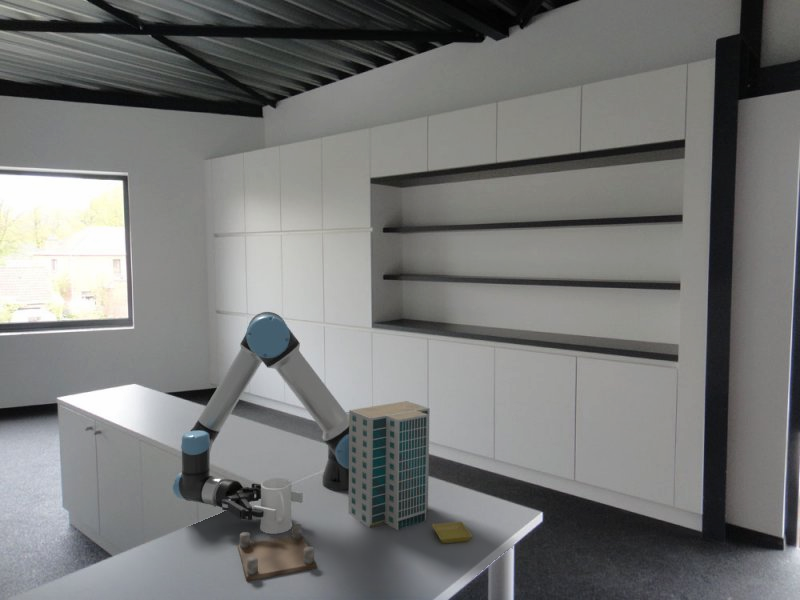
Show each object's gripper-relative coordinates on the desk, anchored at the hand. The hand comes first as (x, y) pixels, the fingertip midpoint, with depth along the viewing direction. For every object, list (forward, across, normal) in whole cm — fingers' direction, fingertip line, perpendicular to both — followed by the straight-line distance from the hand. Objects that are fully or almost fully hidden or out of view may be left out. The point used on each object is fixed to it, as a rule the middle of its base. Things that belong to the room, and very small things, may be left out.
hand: (289, 506), depth 152 cm
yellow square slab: (+40, -16, -8) cm, 44 cm away
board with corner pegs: (+5, +13, -7) cm, 15 cm away
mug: (-4, 0, -7) cm, 8 cm away
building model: (+21, -21, -7) cm, 31 cm away
